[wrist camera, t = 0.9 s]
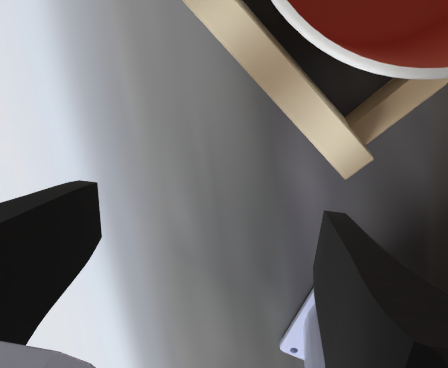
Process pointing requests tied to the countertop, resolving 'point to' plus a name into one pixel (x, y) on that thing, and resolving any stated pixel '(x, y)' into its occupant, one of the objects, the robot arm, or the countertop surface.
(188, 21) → the countertop surface
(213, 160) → the countertop surface
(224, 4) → the bay
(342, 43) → the cup
